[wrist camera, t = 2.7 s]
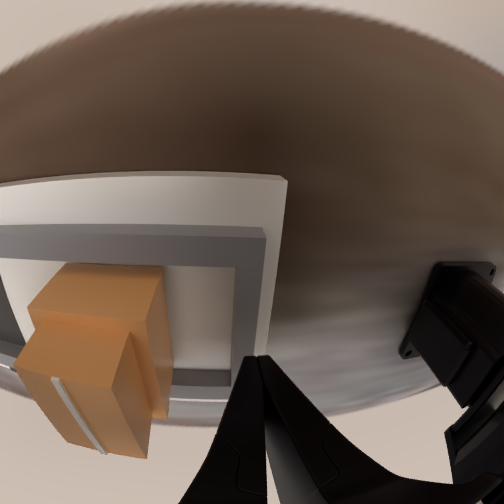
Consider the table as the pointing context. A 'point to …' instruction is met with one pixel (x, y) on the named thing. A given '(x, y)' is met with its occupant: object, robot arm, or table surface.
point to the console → (154, 257)
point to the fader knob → (101, 355)
